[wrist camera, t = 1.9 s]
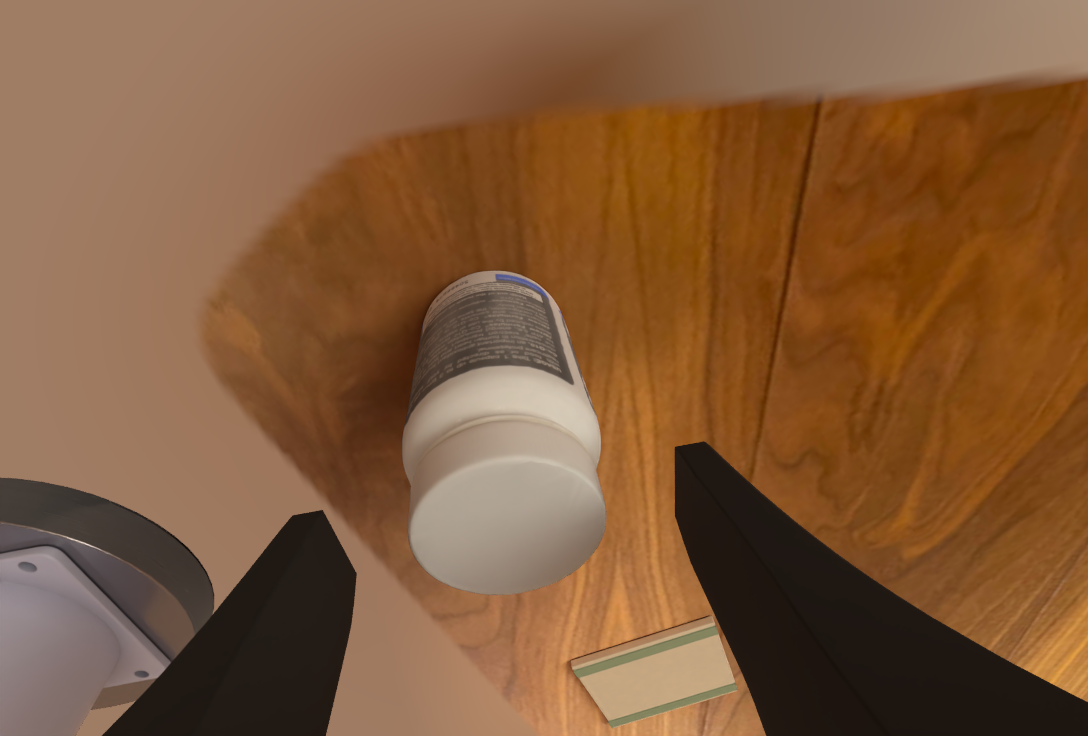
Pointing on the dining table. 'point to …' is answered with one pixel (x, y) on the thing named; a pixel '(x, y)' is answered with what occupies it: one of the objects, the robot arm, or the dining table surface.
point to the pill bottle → (500, 441)
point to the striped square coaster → (657, 673)
